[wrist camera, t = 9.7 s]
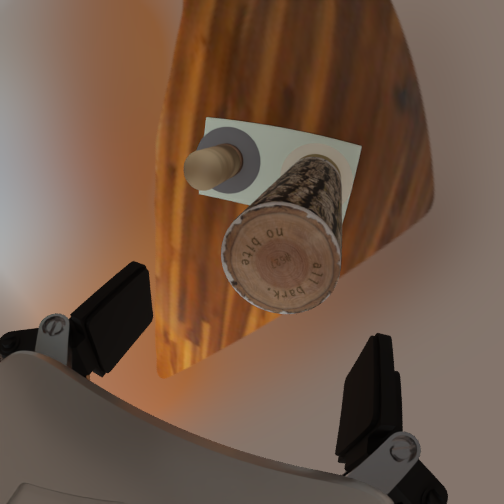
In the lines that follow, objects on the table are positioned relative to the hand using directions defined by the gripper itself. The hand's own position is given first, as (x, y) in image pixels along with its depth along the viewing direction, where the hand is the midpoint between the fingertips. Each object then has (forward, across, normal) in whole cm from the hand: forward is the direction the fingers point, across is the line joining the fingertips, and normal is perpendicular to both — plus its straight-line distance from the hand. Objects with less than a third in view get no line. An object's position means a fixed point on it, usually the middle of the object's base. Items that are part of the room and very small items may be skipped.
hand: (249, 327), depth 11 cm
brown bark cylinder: (+31, 0, +1) cm, 31 cm away
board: (+32, +6, +1) cm, 32 cm away
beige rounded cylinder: (+31, +13, +1) cm, 33 cm away
